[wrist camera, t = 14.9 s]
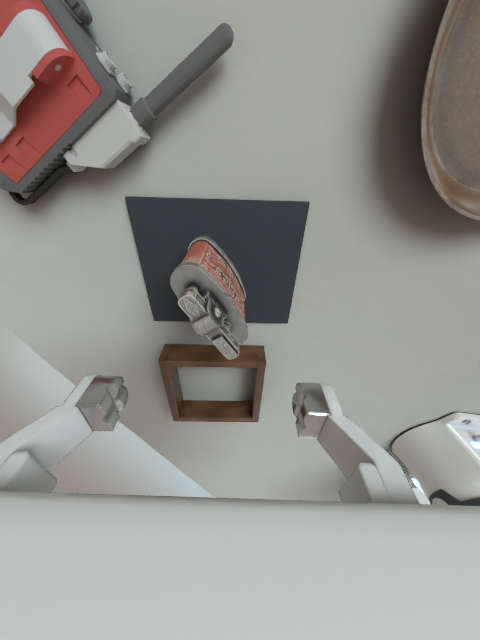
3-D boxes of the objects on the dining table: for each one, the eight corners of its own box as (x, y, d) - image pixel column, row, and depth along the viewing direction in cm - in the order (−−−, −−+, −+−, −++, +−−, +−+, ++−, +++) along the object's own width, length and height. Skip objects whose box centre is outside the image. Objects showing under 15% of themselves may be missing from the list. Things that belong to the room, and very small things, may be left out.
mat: (308, 201, 20) (309, 202, 20) (287, 321, 27) (287, 323, 27) (126, 196, 20) (124, 197, 19) (155, 318, 27) (154, 320, 27)
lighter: (181, 247, 22) (145, 298, 14) (209, 228, 21) (189, 270, 12) (226, 307, 26) (221, 375, 17) (252, 294, 25) (259, 359, 16)
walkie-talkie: (57, 224, 21) (241, 61, 15) (18, 237, 17) (241, 28, 11) (-52, 116, 17) (147, -173, 11) (-134, 103, 13) (99, -345, 7)
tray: (263, 345, 30) (266, 362, 27) (256, 405, 37) (258, 422, 34) (164, 343, 29) (157, 360, 27) (177, 404, 37) (173, 421, 34)
